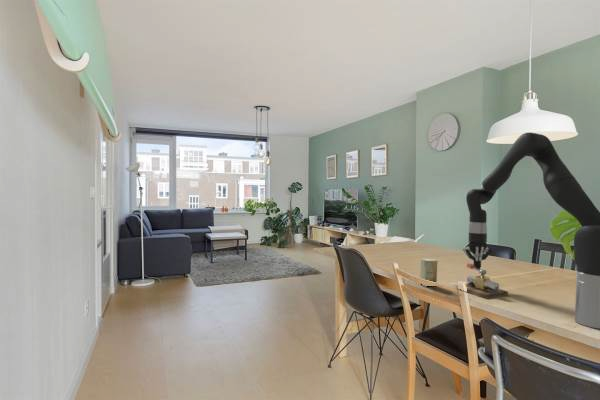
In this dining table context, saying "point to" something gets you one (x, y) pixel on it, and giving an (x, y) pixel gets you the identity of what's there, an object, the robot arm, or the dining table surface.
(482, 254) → the robot arm
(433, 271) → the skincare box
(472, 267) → the lever
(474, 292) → the mounting board
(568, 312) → the dining table surface
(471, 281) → the valve
